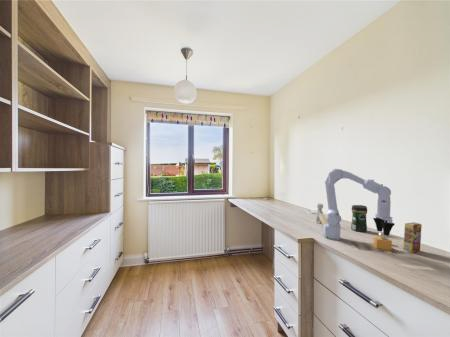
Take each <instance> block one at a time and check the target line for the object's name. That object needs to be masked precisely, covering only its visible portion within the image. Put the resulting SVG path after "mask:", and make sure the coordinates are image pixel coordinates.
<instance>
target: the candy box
mask: <svg viewBox="0 0 450 337" xmlns="http://www.w3.org/2000/svg"><path fill="white" fill-rule="evenodd" d="M422 225H423V224H421V223H419V222H406V223H404V231H403V232H404V235H403V245H402V246H403V250H404V251H406V252H407V253H410V254H413V253H417V252H420V251H421V243H422V242H421V241H422V240H421V239H422V227H423V226H422Z"/></svg>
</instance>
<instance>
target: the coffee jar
mask: <svg viewBox="0 0 450 337" xmlns="http://www.w3.org/2000/svg"><path fill="white" fill-rule="evenodd" d="M351 213H352V216H351V217H352V218H351V225H350V228H351V230H352V231H354V232H355V231H356V232H368V225H367V214H368V207H367V206H366V205H362V204H361V205H360V204H353V205H351Z"/></svg>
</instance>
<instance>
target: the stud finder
mask: <svg viewBox="0 0 450 337" xmlns="http://www.w3.org/2000/svg"><path fill="white" fill-rule="evenodd" d="M378 237H379V236H378ZM378 237H376V236H374V237H373V242H374V244H373V246H374V247H375V248H377V249H386V250H392V248H393V247H392V245H393V240H391V239H390V238H388V237H386V238H378Z"/></svg>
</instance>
